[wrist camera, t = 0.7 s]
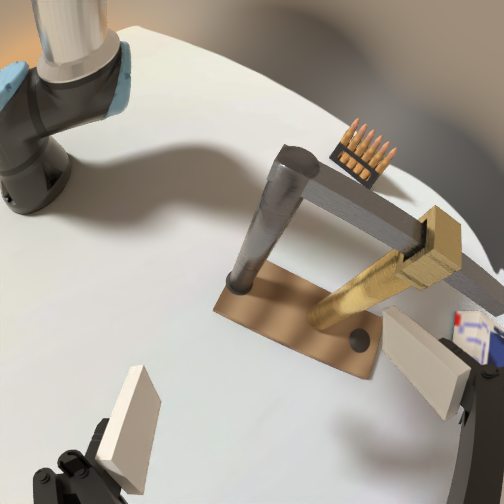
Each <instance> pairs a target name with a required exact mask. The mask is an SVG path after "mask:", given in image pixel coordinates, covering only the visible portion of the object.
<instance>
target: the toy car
mask: <svg viewBox="0 0 504 504" xmlns="http://www.w3.org/2000/svg"><path fill="white" fill-rule="evenodd" d="M453 342H454V343H455V344H456V345H457V346H458V347H460V348H461V349H463V351H465V352H466V353H468V354H469V355H470V356H471V357H473V358H474V359H475V360H476V361H478V362H479V363H480V364H481V365H484V364H493V365H496V366H498V367H499V368H500V367H503V366H504V328H502V327H501V326H500V325H499V324H497V323H496V322H495V321H493V320H492V319H490V318H489V317H488V316H486V315H485V314H484V313H482V312H481V311H456V312H455V324H454V333H453Z"/></svg>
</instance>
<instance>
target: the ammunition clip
mask: <svg viewBox="0 0 504 504" xmlns="http://www.w3.org/2000/svg"><path fill="white" fill-rule="evenodd" d="M358 124H359V118H358V119H356V120H355V121H354V122H353V123H352V125H351V126H350V128H349V129H348V130H347V131H346V133H345V134H344V136H343V138H342V139H341V141H340V142H339V144H338V145H337V147H336V148H335V150H334V151H333V153H332V154H331V155H330V157H329V158H330V159H331V160H332V161H334V162H335V163H336V164H338V165H339V166H340V167H341V168H343V169H344V170H345V171H346V172H348V173H349V174H350V175H351V176H352V177H354V178H355V179H356V180H357V181H359V182H360V183H361V184H362V185H363V186H365V187H366V188H368V189H370V188H371V187H372V185H373V184H374V182H375V181H376V180H377V179H378V177H379V176H380V175H381V174H382V173H383V171H384V170H385V169H386V168H387V166H388V165H389V163H390V161H391V160H392V158H393V157H394V155H395V154H396V151H397V148H394V149H393V150H391V152H389V153H388V154H387V155H386V157H385V158H384V159H382V157H383V155H384V154H385V152H386V151H387V149H388V147H389V144H390V142H387V143H386V144H384V145H383V146H382V147H381V149H380V150H379V151H378V152H377V153H376V154H375V155H374V153H375V151H376V149H377V148H378V146H379V144H380V142H381V140H382V136H379V137H378V138H377V139H376V140H375V141H374V142H373V144H372V145H371V146H370V147H369V148H368V145H369V143H370V141H371V140H372V138H373V136H374V133H375V130H372V131H371V132H370V133H369V134H368V135H367V136H366V138H365V139H364V140H363V141H362V142H361V143H360V141H361V139H362V137H363V135H364V133H365V131H366V129H367V124H365V125H363V126H362V127H361V128H360V130H359V131H358V132H357V134H356V135H355V136H354V137H353V135H354V132H355V130H356V128H357V127H358ZM352 137H353V139H352ZM351 139H352V140H351ZM350 140H351V142H350ZM349 142H350V143H349ZM359 143H360V145H359ZM358 145H359V146H358ZM357 146H358V148H357ZM356 148H357V149H356ZM367 148H368V149H367ZM366 149H367V150H366ZM365 151H366V152H365ZM343 152H344V153H343ZM364 152H365V153H364ZM342 153H343V154H342ZM373 155H374V156H373ZM372 156H373V157H372ZM350 157H351V158H350ZM349 158H350V159H349ZM371 158H372V159H371ZM370 159H371V160H370ZM381 159H382V160H381ZM348 160H349V161H348ZM380 161H381V162H380ZM357 162H358V163H357ZM379 162H380V163H379ZM367 163H368V164H367ZM378 163H379V164H378ZM355 165H356V166H355ZM364 167H365V168H364ZM368 176H369V177H368Z"/></svg>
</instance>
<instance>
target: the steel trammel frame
mask: <svg viewBox="0 0 504 504" xmlns="http://www.w3.org/2000/svg"><path fill="white" fill-rule="evenodd" d="M267 180H268V181H267V184H266V186H265V189H264V191H263V194H262V197H261V199H260V202H259V204H258V207H257V209H256V212H255V214H254V217H253V219H252V222H251V224H250V227H249V229H248V232H247V235H246V237H245V240H244V242H243V245H242V247H241V250H240V252H239V255H238V258H237V260H236V263H235V265H234V268H233V270H232V273H231V276H230V278H229V285H230V287H231V289H232V290H234V291H235V292H239V293H241V292H245V291H246V290H248V288H249V287H250V285H251V284H252V282H253V280H254V279H255V277H256V276H257V274H258V272H259V271H260V269H261V268H262V266H263V264H264V263H265V261H266V259H267V258H268V256H269V255H270V253H271V251H272V250H273V248H274V246H275V245H276V243H277V242H278V240H279V238H280V237H281V235H282V233H283V232H284V230H285V228H286V227H287V225H288V224H289V222H290V220H291V219H292V217H293V215H294V214H295V212H296V210H297V209H298V207H299V205H300V204H301V202H302V200H303V199H306V200H308V201H310V202H312V203H314V204H316V205H318V206H320V207H322V208H323V209H325V210H327V211H329V212H331V213H333V214H334V215H336V216H338V217H340V218H342V219H343V220H345V221H347V222H349V223H351V224H352V225H354V226H356V227H358V228H359V229H361V230H363V231H365V232H366V233H368V234H370V235H372V236H373V237H375V238H377V239H378V240H380V241H382V242H383V243H385V244H387V245H388V246H390V247H392V248H393V249H395V250H397V251H398V252H400V253H402V254H403V255H405V256H406V257H408V258H411V257H412V256H413V255H415V254H416V253H418V252H419V251H421V250H422V249H423V248H425V247H426V233H427V226H425V225H424V224H422V223H421V222H420V221H418V220H417V219H415V218H414V217H412V216H411V215H409V214H408V213H406V212H405V211H403V210H401V209H400V208H398V207H397V206H395V205H394V204H392V203H390V202H389V201H387V200H386V199H384V198H382V197H381V196H379V195H378V194H376V193H374V192H373V191H371V190H369V189H368V188H366V187H364V186H363V185H361V184H359V183H357V182H356V181H354V180H352V179H350V178H349V177H347V176H345V175H343V174H341V173H340V172H338V171H336V170H334V169H332V168H331V167H329V166H327V165H325V164H323V163H321V162H319V161H318V160H317V158H316V157H315V156H314V155H313V154H312V153H311V152H309V151H307V150H306V149H303V148H301V147H296V146H287V145H285V144H284V145H283V147H282V149H281V150H280V152H279V154H278V155H277V157H276V158H275V160H274V162H273V165H272V167H271V170H270V172H269V175H268V177H267ZM442 280H444V281H445V282H447V283H448V284H450V285H451V286H453V287H454V288H455V289H457V290H458V291H460V292H461V293H463V294H464V295H466V296H467V297H468V298H470V299H471V300H473V301H474V302H476V303H477V304H478V305H480V306H481V307H482V308H484V309H485V310H487V311H488V312H489V313H491V314H492V315H493V316H495V317H497V316H499V315H502V314H504V286H503V285H501V284H500V283H499V282H498V281H497V280H496V279H495V278H493V277H492V276H491V275H490V274H489V273H487V272H486V271H485V270H484V269H483V268H481V267H480V266H479V265H478V264H476V263H475V262H474V261H473V260H471V259H470V258H469V257H468V256H466V255H465V254H464V253H462V262H461V269H460V270H458V271H456V272H454V273H453V274H451V275H449V276H447V277H445V278H444V279H442Z"/></svg>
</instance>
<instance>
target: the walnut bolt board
mask: <svg viewBox="0 0 504 504" xmlns="http://www.w3.org/2000/svg"><path fill="white" fill-rule="evenodd" d="M231 273H232V272H230V273H229V274H228V276H227V278H226V286H225V288H224V289H223V291H222V293H221V295H220V297H219V299H218V301H217V303H216V305H215V307H214V308H213V311H214V312H216V313H218V314H220V315H222V316H224V317H226V318H228V319H230V320H232V321H234V322H236V323H238V324H240V325H242V326H244V327H246V328H248V329H250V330H252V331H254V332H256V333H258V334H260V335H262V336H264V337H266V338H269V339H271V340H273V341H275V342H277V343H279V344H281V345H284V346H286V347H288V348H290V349H292V350H295V351H297V352H299V353H301V354H304V355H306V356H308V357H310V358H313V359H315V360H317V361H320V362H322V363H324V364H327V365H329V366H331V367H334V368H336V369H339V370H341V371H344V372H346V373H349V374H351V375H353V376H356V377H359V378H361V379H368V377H369V374H370V371H371V368H372V365H373V361H374V358H375V355H376V351H377V348H378V344H379V341H380V337H381V333H382V329H383V319H382V318H380V317H378V316H376V315H374V314H372V313H370V312H368V311H366V310H364V311H362V312H360V313H358V314H356V315H354V316H352V317H350V318H348V319H345V320H343V321H341V322H339V323H337V324H335V325H332V326H330V327H328V328H326V329H323V330H317V329H314V328H313V327H312V326H311V325H310V324H309V322H308V318H307V315H308V311H309V310H310V308H311V307H313V306H314V305H316V304H317V303H319V302H320V301H322V300H323V299H325V298H326V297H328V296H329V295H330V294H332V293H331V292H329V291H327V290H325V289H323V288H321V287H319V286H317V285H315V284H313V283H311V282H309V281H307V280H305V279H303V278H301V277H299V276H297V275H295V274H293V273H291V272H289V271H287V270H285V269H283V268H281V267H279V266H277V265H275V264H273V263H271V262H269V261H267V260H266V261H265V263H264V264H263V266H262V268H261V269H260V271H259V272H258V274H257V276H256V277H255V279H254V280H253V282H252V284H251V285H250V287H249V288H248V290H246V291H245V292H241V293H239V292H235V291H234V290H232V289H231V287H230V285H229V278H230V276H231Z"/></svg>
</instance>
